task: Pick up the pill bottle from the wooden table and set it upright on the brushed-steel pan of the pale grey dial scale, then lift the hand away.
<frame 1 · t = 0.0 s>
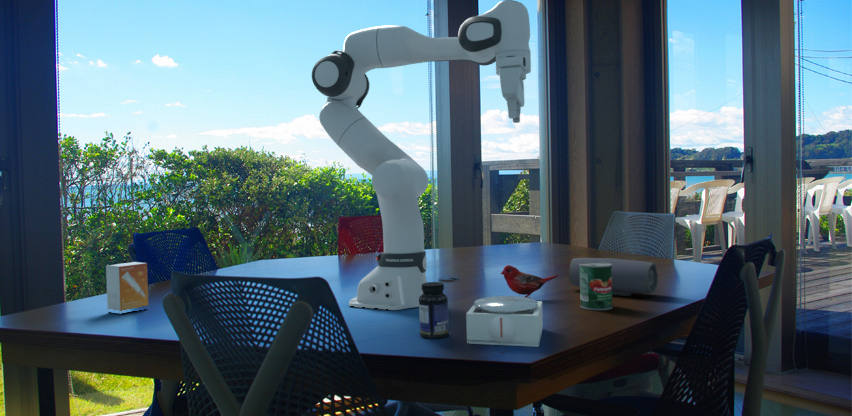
hand: (514, 120, 142), 48 cm above the table, fingers open, 8 cm apart
scale housing: (506, 335, 115), on the table
pill bottle: (434, 336, 117), on the table
bluetooth speaker: (612, 294, 157), on the table
canned tomato: (596, 307, 140), on the table
decorative bird figurine: (530, 300, 151), on the table
scale pan: (505, 311, 115), point 5 cm above the table, slide at 1.2 cm
small box: (128, 312, 151), on the table
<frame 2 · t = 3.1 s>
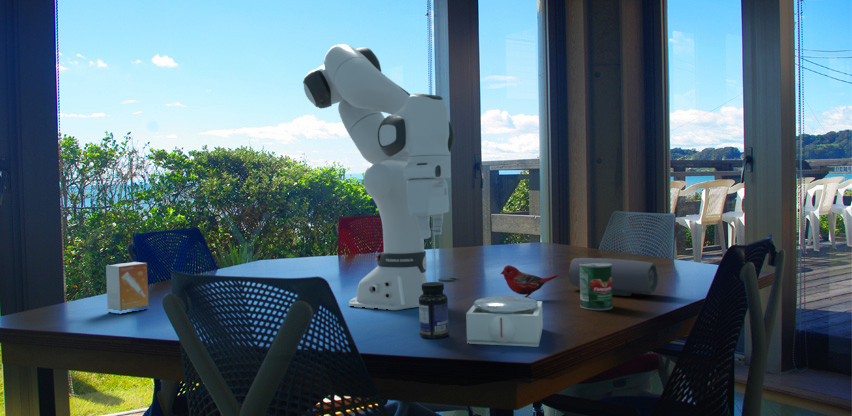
hand: (431, 236, 116), 21 cm above the table, fingers open, 8 cm apart
nothing on the table moved.
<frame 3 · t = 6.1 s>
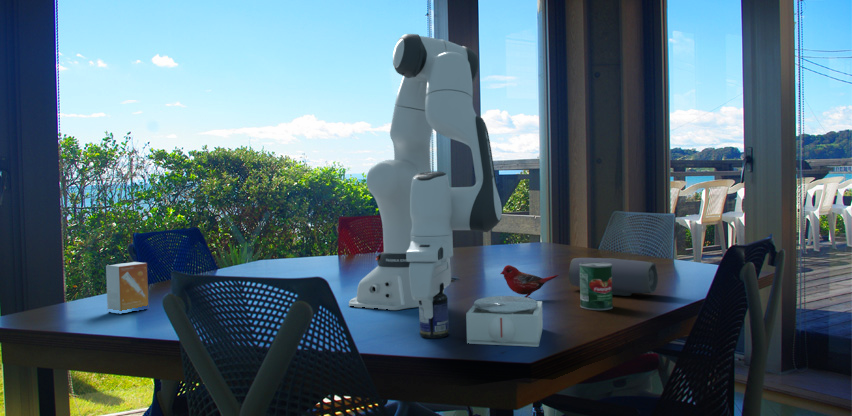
hand: (433, 313, 117), 5 cm above the table, fingers closed on pill bottle, 6 cm apart
pill bottle: (434, 336, 117), on the table, touching gripper
everything else where it was.
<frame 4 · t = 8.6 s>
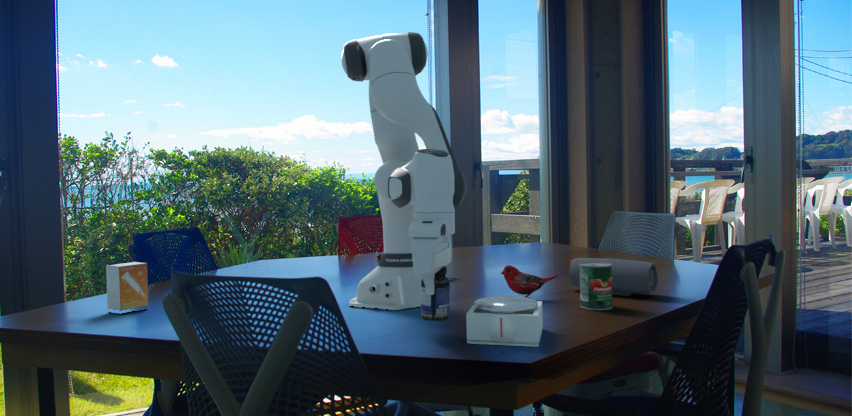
hand: (434, 290, 117), 9 cm above the table, fingers closed on pill bottle, 6 cm apart
pill bottle: (435, 319, 118), point 3 cm above the table, touching gripper
everything else where it was.
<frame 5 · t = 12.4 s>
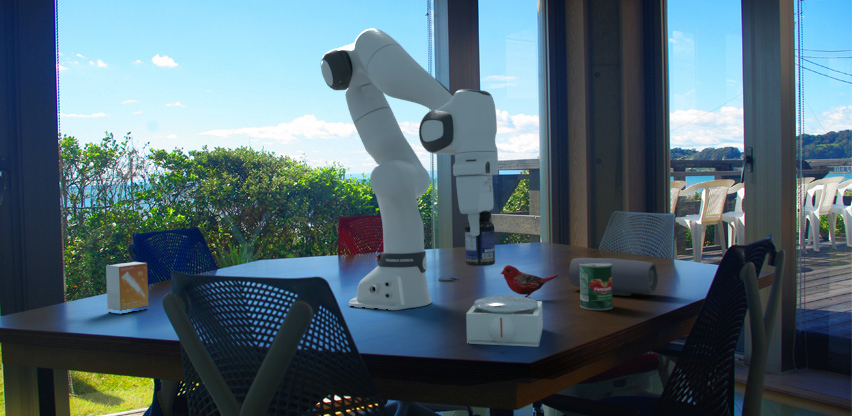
hand: (478, 233, 115), 21 cm above the table, fingers closed on pill bottle, 6 cm apart
pill bottle: (480, 265, 115), point 15 cm above the table, touching gripper
everything else where it was.
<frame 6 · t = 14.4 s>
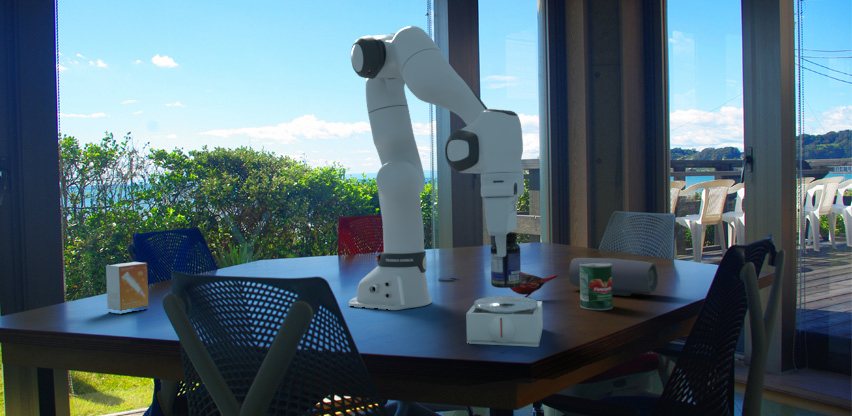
hand: (504, 254, 115), 17 cm above the table, fingers closed on pill bottle, 6 cm apart
pill bottle: (505, 286, 115), point 10 cm above the table, touching gripper
everything else where it was.
when the fingers open (14 cm above the table, at t = 16.2 s): pill bottle stays where it is, resting on scale pan.
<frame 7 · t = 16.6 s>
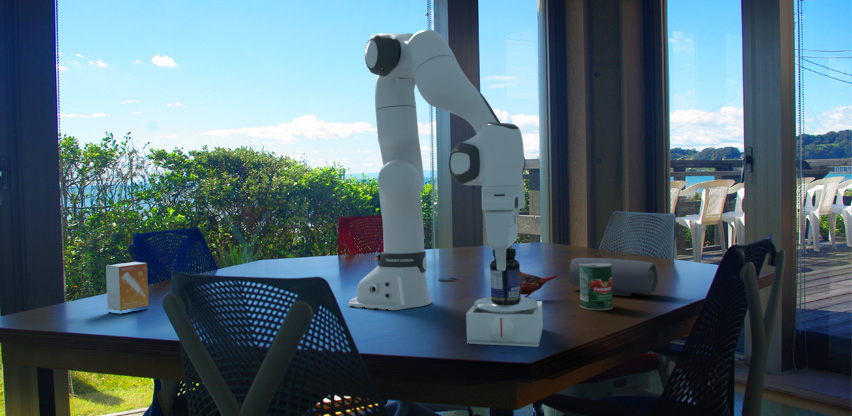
hand: (504, 267, 115), 14 cm above the table, fingers open, 8 cm apart
pill bottle: (505, 303, 115), point 7 cm above the table, touching scale pan
scale pan: (505, 311, 115), point 5 cm above the table, slide at 1.3 cm, touching pill bottle
everything else where it was.
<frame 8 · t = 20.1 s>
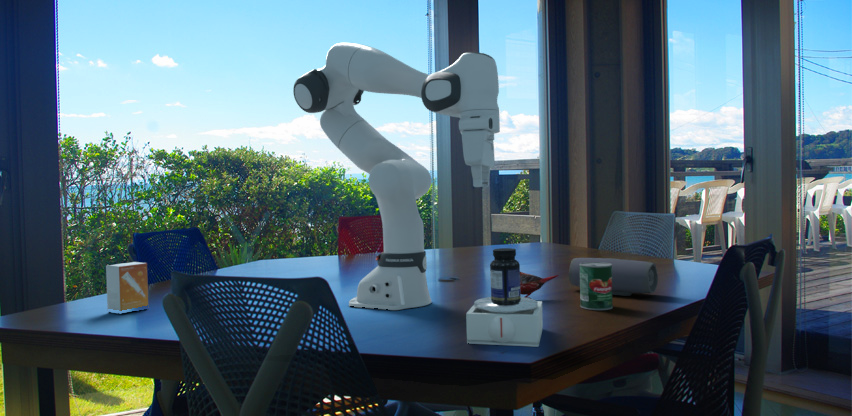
hand: (481, 187, 124), 31 cm above the table, fingers open, 8 cm apart
nothing on the table moved.
at the end: pill bottle inside the target area on the scale pan (0.1 cm from its centre), point 8.1 cm above the scale pan's base; pill bottle tilted 0°; the gripper is holding nothing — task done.
